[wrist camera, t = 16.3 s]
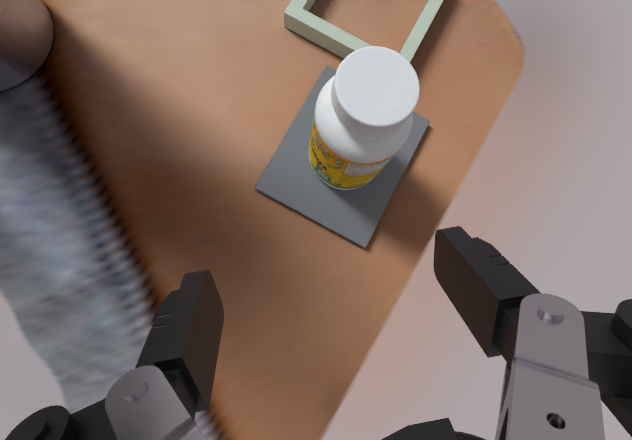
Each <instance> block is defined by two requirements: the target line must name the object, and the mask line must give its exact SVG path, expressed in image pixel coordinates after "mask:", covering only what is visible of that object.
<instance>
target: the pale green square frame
mask: <svg viewBox="0 0 632 440" xmlns="http://www.w3.org/2000/svg"><path fill="white" fill-rule="evenodd" d="M315 1H316V0H292V1H291V2H290V4H289V6H288V7H287V9H286V10H285V12H284V25H285V27H286V28H288V29H290V30H291V31H293V32H295V33H297V34H299V35H301V36H303V37H304V38H306V39H308V40H310V41H312V42H314V43H315V44H317V45H319V46H321V47H323V48H325V49H327V50H328V51H330V52H332V53H334V54H336V55H338V56H340V57H341V58H343V59H345V58H346V57H347V56H348V55H349V54H351V53H352V52H354V51H356V50H358V49H360V48H364V47H370V46H371V45H369V44H367V43H365V42H363V41H362V40H360V39H358V38H356V37H354V36H352V35H351V34H349V33H347V32H345V31H343V30H341V29H339V28H338V27H336V26H334V25H332V24H330V23H328V22H326V21H325V20H323V19H321V18H319V17H317V16H315V15H314V14H312V13H310V12H309V10H310V9H311V7H312V6H313V4H314V2H315ZM442 2H443V0H429V1H428V3H427V4H426V6H425V8H424V10H423V12H422V14H421V15H420V17H419V19H418V21H417V23H416V24H415V26H414V28H413V30H412V32H411V34H410V35H409V37H408V39H407V41H406V43H405V45H404V46H403V48H402V50H401V52H400V55H402V56H403V57H404V58H405V59H406V60H407V61H408V62H409V63H410V61H411V59H412V58H413V56H414V54H415V52H416V50H417V48H418V46H419V45H420V43H421V41H422V39H423V37H424V35H425V33H426V32H427V30H428V28H429V26H430V24H431V22H432V20H433V19H434V17H435V15H436V13H437V11H438V9H439V8H440V6H441V4H442Z"/></svg>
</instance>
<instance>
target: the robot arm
mask: <svg viewBox="0 0 632 440" xmlns="http://www.w3.org/2000/svg"><path fill="white" fill-rule="evenodd" d="M52 40H53V23H52V20H51V16H50V13H49V11H48V9H47V8H46V6H45V4H44V3H43V2H42V1H41V0H0V91H3V90H6V89H9V88H12V87H14V86H16V85H18V84H20V83H21V82H23V81H25V80H27V79H28V78H29V77H30V76H31V75H32V74H34V73H35V72H36V71H37V70H38V69H39V67H40V66H41V65H42V64H43V62H44V61H45V59H46V57H47V55H48V53H49V51H50V49H51V45H52ZM434 272H435V275H436V278H437V280H438V282H439V284H440V285H441V287H442V288H443V290H444V291H445V293H446V294H447V296H448V297H449V299H450V301H451V302H452V304H453V305H454V306H455V308H456V310H457V311H458V313H459V314H460V315H461V317H462V319H463V320H464V322H465V323H466V325H467V326H468V328H469V329H470V331H471V333H472V334H473V336H474V337H475V339H476V340H477V342H478V343H479V345H480V346H481V348H482V349H483V351H484V352H485V354H486V355H487V357H494V356H499V355H502V356H503V357H504V359H505V360H506V362H507V363H506V367H505V373H504V380H503V389H502V396H501V403H500V411H499V418H498V425H497V431H496V436H495V440H605V436H604V426H603V417H602V407H601V400H602V401H603V403H604V404H605V405H606V406H607V407H608V409H609V410H610V411H611V412H612V413H613V415H614V416H615V417H616V418H617V420H618V421H619V422H620V423H621V425H622V426H623V427H624V428H625V430H626V431H627V432H628V433H629V434H630V435H631V437H632V299H629V300H625V301H622V302H621V303H620V304H619V305H618V307H617V309H616V312H615V314H614V313H599V312H585V311H579V310H578V308H576V307H575V306H574V305H573V304H571V303H570V302H568V301H567V300H565V299H562V298H560V297H557V296H554V295H550V294H542V293H540V292H539V291H538V290H537V289H536V288H535V287H534V286H533V285H532V284H531V283H530V282H529V281H528V280H527V279H526V278H525V277H524V276H523V275H522V274H521V273H520V272H519V271H518V270H517V269H516V268H515V267H514V266H513V265H512V264H511V265H510V263H509V261H508V260H507V259H506V258H505V257H504V256H501V253H500V252H499V251H498V250H497V249H495V248H494V247H493V246H492V245H491V244H489V243H487V242H485V241H483V240H481V239H479V238H478V237H477V238H471V237H470V236H469V235H468V234H467V233H466V232H465V231H464V230H463V228H461V227H460V226H457V227H451V228H446V229H440V230H437V231H436V234H435V250H434ZM156 316H157V318H155V320H154V323H153V325H152V329H151V330H150V333H149V335H148V337H147V340H146V342H145V345H144V347H143V350H142V352H141V355H140V357H139V360H138V362H137V365H136V367H135V369H133V370H131V371H129V372H128V373H126V374H125V375H123V376H122V377H121V378H120V379H119V380H118V381H117V382H116V383H115V384H114V385H113V386H112V388H111V389H110V391H109V392H108V394H107V397H106V398H105V399H103V400H101V401H99V402H97V403H95V404H93V405H91V406H88V407H86V408H84V409H82V410H80V411H77V412H75V413H73V414H70V413H69V412H68V411H67V409H66V408H64V407H63V406H49V407H46V408H43V409H41V410H39V411H37V412H35V413H33V414H32V415H30V416H29V417H27V418H26V419H24V420H23V421H22V422H21V423H20V424H19V425H17V426H16V427H15V428H14V429H13V430H12V432H11V433H10V434H9V435H8V436H7V438H6V439H5V440H206V438H205V437H204V435H203V434H202V432H201V431H200V429H199V427H198V426H197V424H196V423H195V421H194V418H195V413H196V412H198V411H203V410H208V409H209V405H210V399H211V393H212V387H213V381H214V375H215V369H216V363H217V357H218V351H219V345H220V339H221V333H222V327H223V321H224V310H223V305H222V301H221V299H220V296H219V293H218V291H217V288H216V285H215V283H214V280H213V277H212V275H211V273H210V271H209V270H204V271H199V272H193V273H187V274H185V276H184V278H183V281H182V284H181V287H180V289H179V290H176V291H172V292H171V293H170V294H169V295H168V296H167V297H166V298H165V300H164V301H163V302H162V303H161V305H160V308H159V310H158V313H157V315H156ZM382 440H485V439H483V438H480V437H477V436H475V435H471V434H467V433H463V432H456V431H454V429H453V427H452V425H451V423H450V420H449V418H445V419H440V420H435V421H429V422H424V423H419V424H414V425H409V426H407V427H405V428H403V429H401V430H399V431H397V432H395V433H393V434H391V435H389V436H388V437H386V438H384V439H382Z"/></svg>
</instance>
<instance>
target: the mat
mask: <svg viewBox="0 0 632 440" xmlns="http://www.w3.org/2000/svg"><path fill="white" fill-rule="evenodd" d="M335 74H336V70H335V69H333V68H331V67H329V66H327V65H326V67H325V69H324V70H323V72H322V74H321V75H320V77H319V79H318V80H317V82H316V84H315V86H314V87H313V89H312V91H311V92H310V94H309V96H308V97H307V99H306V101H305V103H304V104H303V106H302V108H301V109H300V111H299V113H298V114H297V116H296V118H295V120H294V121H293V123H292V125H291V126H290V128H289V130H288V131H287V133H286V135H285V137H284V138H283V140H282V142H281V143H280V145H279V147H278V148H277V150H276V152H275V154H274V155H273V157H272V159H271V160H270V162H269V164H268V165H267V167H266V169H265V171H264V172H263V174H262V176H261V177H260V179H259V181H258V182H257V184H256V186H255V189H256V190H258V191H260V192H261V193H263V194H265V195H267V196H269V197H271V198H273V199H274V200H276V201H278V202H280V203H282V204H284V205H285V206H287V207H289V208H291V209H293V210H295V211H296V212H298V213H300V214H302V215H304V216H306V217H308V218H309V219H311V220H313V221H315V222H317V223H319V224H320V225H322V226H324V227H326V228H328V229H330V230H331V231H333V232H335V233H337V234H339V235H341V236H342V237H344V238H346V239H348V240H350V241H352V242H354V243H355V244H357V245H359V246H361V247H363V248H366V246H367V244H368V242H369V240H370V238H371V236H372V234H373V232H374V230H375V228H376V226H377V224H378V222H379V220H380V219H381V217H382V215H383V213H384V211H385V209H386V207H387V205H388V203H389V201H390V199H391V197H392V195H393V193H394V191H395V189H396V187H397V185H398V183H399V181H400V179H401V177H402V175H403V173H404V171H405V169H406V167H407V165H408V163H409V161H410V159H411V158H412V156H413V154H414V152H415V150H416V148H417V146H418V144H419V142H420V140H421V138H422V136H423V134H424V132H425V130H426V128H427V126H428V124H429V122H430V121H429V120H427V119H425V118H423V117H421V116H420V115H418V114H416V113H414V112H413V123H412V128H411V131H410V134H409V136H408V138H407V140H406V142H405V143H404V145H403V146H402V147H401V148H400V149H399V151H398V152H397V153H396V154H395V155H394V156H393V157H392V158H391V160H390V161H389V162H388V163H387V164H386V165H385V166H384V167H383V168H382V170H381V171H380V172H379V173H378V174H377V175H376V176H375V177H374V178H373V179H372V180H371V181H370V182H369V183H367V184H366V185H364V186H362V187H360V188H357V189H352V190H340V189H336V188H333V187H331V186H329V185H327V184H326V183H325V182H323V181H322V180H321V179H320V178H319V177H318V176H317V175H316V173H315V172H314V170H313V169H312V167H311V164H310V160H309V144H310V138H311V132H312V125H313V119H314V112H315V106H316V102H317V99H318V96H319V94H320V92H321V90H322V88H323V87H324V85H325V84H326V83H327V82H328V81H329V80H330V79H331V78H332V77H333V76H335Z"/></svg>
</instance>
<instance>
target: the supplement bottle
mask: <svg viewBox="0 0 632 440" xmlns="http://www.w3.org/2000/svg"><path fill="white" fill-rule="evenodd" d="M419 92H420V87H419V80H418V77H417V74H416V72H415V70H414V68H413V67H412V65H411V64H410V63H409V62H408V61H407V60H406V59H405V58H404V57H403V56H402V55H400V54H399V53H397V52H395V51H393V50H391V49H388V48H384V47H378V46H370V47H364V48H360V49H358V50H356V51H354V52H352V53H351V54H349V55H348V56H347V57H346V58H345V59H344V60H343V61H342V62H341V64H340V65H339V67H338V69H337V71H336V74H335V76H333V77H332V78H331V79H330V80H329V81H328V82H327V83H326V84H325V85H324V87H323V88H322V90H321V92H320V94H319V96H318V99H317V102H316V106H315V112H314V119H313V125H312V132H311V138H310V144H309V160H310V164H311V167H312V169H313V170H314V172H315V173H316V175H317V176H318V177H319V178H320V179H321V180H322V181H323V182H325V183H326V184H327V185H329V186H331V187H333V188H336V189H340V190H352V189H357V188H360V187H362V186H364V185H366V184H367V183H369V182H370V181H371V180H372V179H373V178H374V177H375V176H376V175H377V174H378V173H379V172H380V171H381V170H382V168H383V167H384V166H385V165H386V164H387V163H388V162H389V161H390V160H391V158H392V157H393V156H394V155H395V154H396V153H397V152H398V151H399V149H400V148H401V147H402V146H403V145H404V143H405V142H406V140H407V138H408V136H409V134H410V131H411V128H412V123H413V110H414V109H415V107H416V105H417V102H418V99H419Z"/></svg>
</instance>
